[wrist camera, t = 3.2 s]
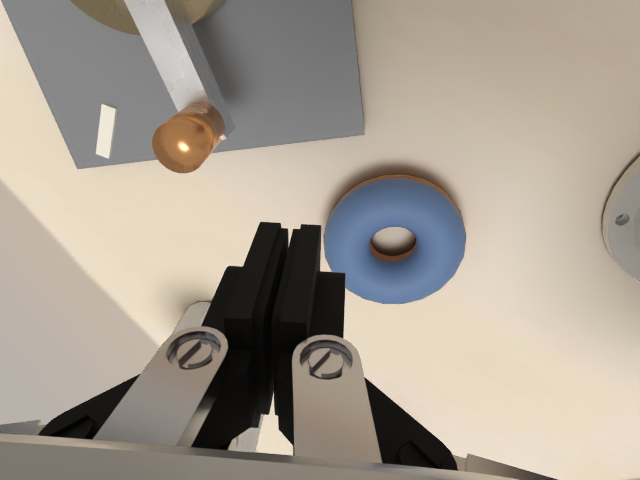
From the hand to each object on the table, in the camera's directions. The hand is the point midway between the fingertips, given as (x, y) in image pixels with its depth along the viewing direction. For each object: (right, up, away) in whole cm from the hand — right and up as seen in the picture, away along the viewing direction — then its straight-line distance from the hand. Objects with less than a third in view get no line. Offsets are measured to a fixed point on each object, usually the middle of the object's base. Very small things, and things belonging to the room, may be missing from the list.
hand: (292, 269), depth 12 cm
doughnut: (+6, +2, +21) cm, 22 cm away
